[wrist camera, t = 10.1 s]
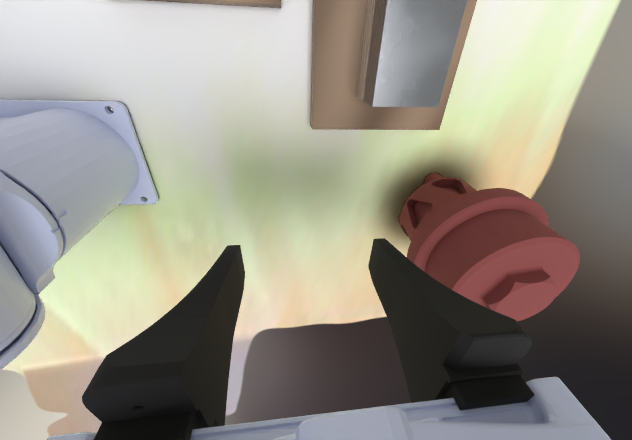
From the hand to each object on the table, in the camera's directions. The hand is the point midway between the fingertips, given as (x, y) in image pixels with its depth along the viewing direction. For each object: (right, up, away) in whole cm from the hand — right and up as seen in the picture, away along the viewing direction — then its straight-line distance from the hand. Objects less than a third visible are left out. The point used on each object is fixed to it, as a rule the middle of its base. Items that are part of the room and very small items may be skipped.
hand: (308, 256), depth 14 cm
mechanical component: (+12, +4, +12) cm, 17 cm away
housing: (+5, +14, +2) cm, 15 cm away
